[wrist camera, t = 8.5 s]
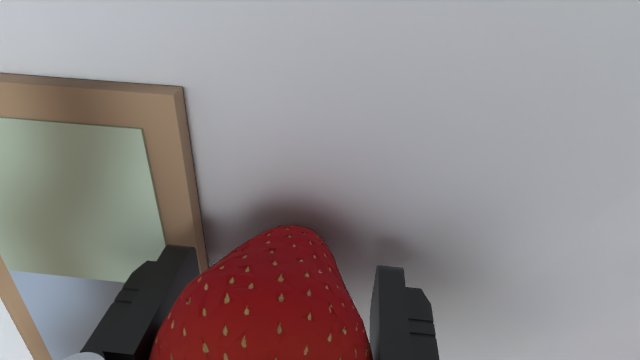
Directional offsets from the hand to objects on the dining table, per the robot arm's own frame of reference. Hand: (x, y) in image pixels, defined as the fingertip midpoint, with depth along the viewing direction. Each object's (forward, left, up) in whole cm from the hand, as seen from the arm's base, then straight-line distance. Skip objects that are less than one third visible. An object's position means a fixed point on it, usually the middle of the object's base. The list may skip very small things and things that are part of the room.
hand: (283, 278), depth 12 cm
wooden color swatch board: (+7, +5, -2) cm, 9 cm away
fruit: (0, 0, -2) cm, 2 cm away
